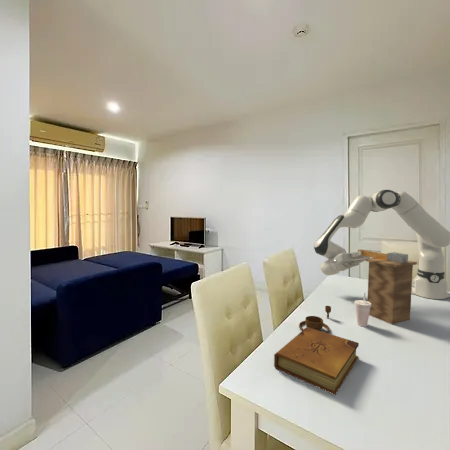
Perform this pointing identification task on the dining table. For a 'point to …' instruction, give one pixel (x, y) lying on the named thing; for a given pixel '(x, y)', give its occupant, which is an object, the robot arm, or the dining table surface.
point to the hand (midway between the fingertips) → (364, 252)
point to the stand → (390, 290)
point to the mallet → (387, 256)
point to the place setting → (316, 321)
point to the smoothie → (362, 311)
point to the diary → (318, 358)
